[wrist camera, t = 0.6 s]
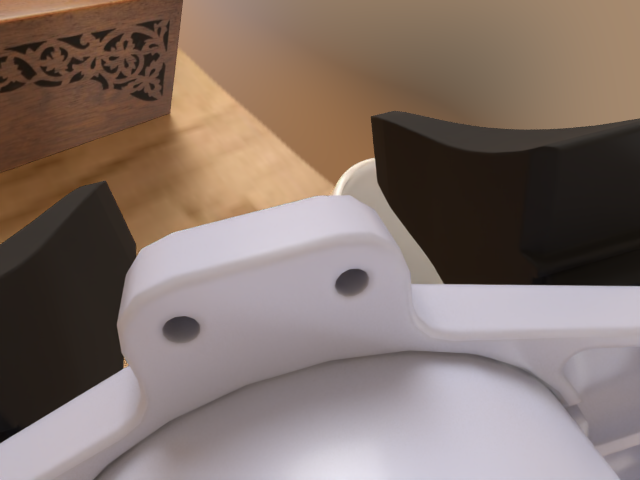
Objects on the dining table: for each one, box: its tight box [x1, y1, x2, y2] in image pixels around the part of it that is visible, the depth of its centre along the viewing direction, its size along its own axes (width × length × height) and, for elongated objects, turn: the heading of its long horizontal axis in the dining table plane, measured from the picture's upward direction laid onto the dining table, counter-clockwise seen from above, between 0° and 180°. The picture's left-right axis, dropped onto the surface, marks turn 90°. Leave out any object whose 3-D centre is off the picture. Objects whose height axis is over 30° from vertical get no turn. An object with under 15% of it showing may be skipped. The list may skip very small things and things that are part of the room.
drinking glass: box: [329, 158, 444, 284], centre depth 23 cm, size 7×7×15 cm
